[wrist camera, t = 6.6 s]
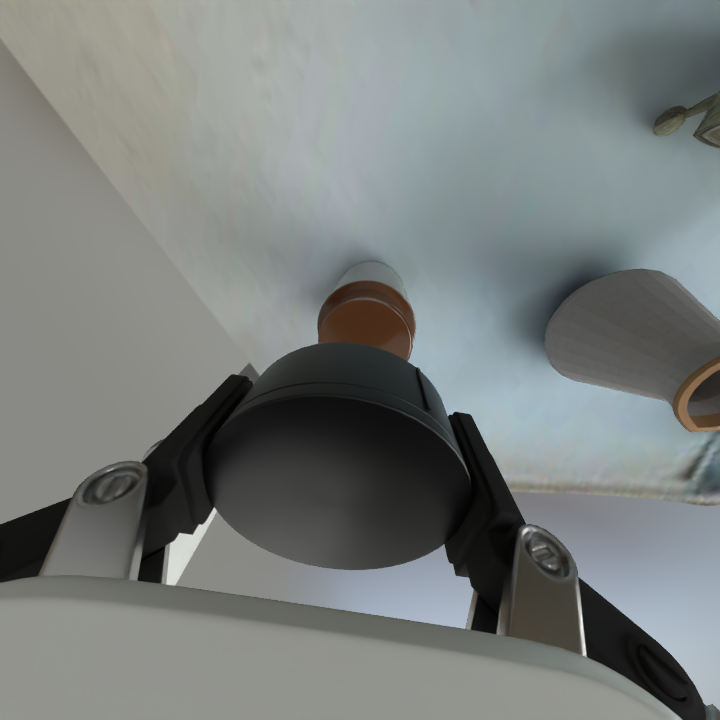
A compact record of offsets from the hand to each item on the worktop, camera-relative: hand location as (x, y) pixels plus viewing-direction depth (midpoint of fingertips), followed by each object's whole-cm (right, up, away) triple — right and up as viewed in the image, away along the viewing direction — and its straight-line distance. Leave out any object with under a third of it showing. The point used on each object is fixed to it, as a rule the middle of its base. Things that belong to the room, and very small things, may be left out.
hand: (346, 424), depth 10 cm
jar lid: (0, -1, -2) cm, 3 cm away
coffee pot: (+30, +6, +17) cm, 35 cm away
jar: (+2, +9, +17) cm, 20 cm away
